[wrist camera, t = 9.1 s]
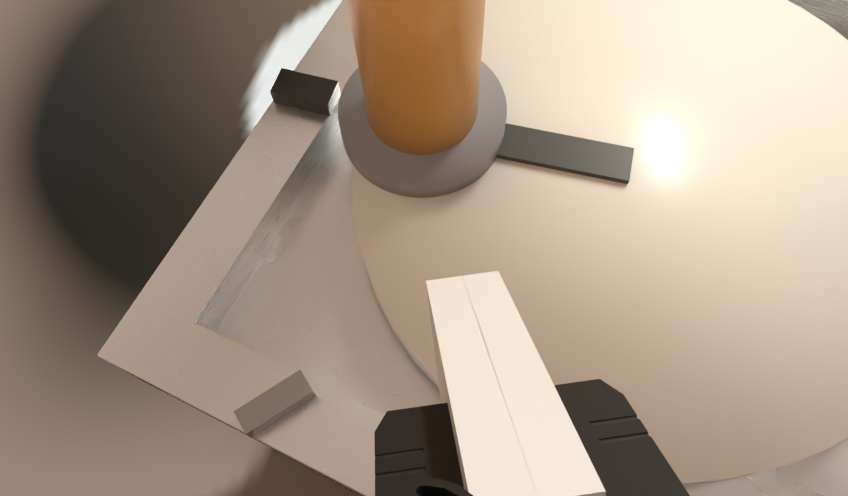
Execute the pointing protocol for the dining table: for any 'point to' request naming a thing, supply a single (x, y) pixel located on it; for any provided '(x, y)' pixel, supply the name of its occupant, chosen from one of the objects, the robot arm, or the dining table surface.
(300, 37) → the dining table surface
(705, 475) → the dial
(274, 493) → the dining table surface
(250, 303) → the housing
